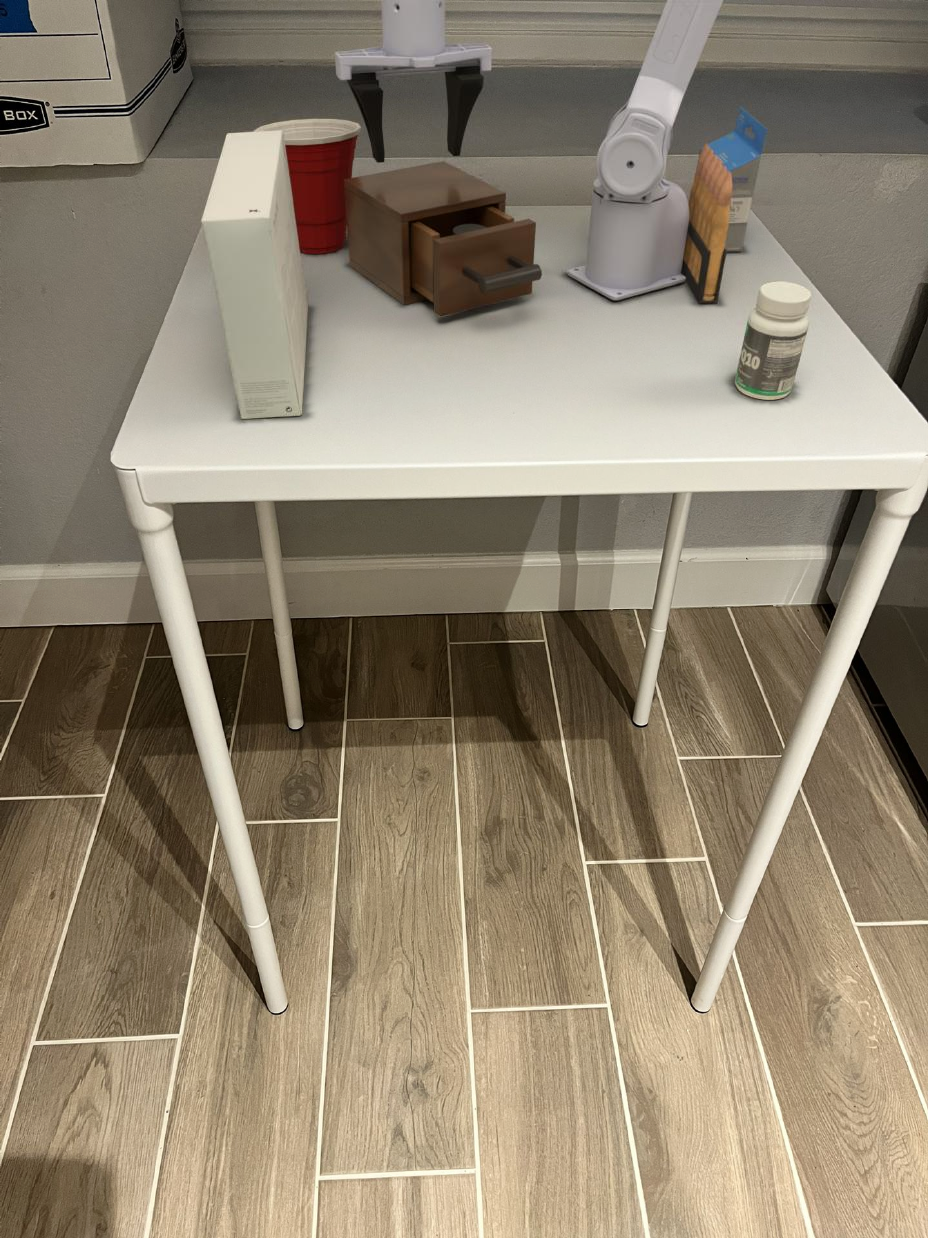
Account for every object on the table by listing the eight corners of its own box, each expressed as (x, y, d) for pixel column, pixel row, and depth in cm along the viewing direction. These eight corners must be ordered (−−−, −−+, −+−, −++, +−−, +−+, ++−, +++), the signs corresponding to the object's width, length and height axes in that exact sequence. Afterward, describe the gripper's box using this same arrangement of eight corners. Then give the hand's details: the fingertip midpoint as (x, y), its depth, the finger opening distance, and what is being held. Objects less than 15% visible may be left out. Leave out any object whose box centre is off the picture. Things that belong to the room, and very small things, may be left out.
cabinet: (503, 280, 98) (506, 192, 92) (403, 305, 93) (400, 213, 88) (444, 244, 105) (443, 160, 100) (349, 265, 101) (343, 178, 95)
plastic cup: (349, 220, 110) (341, 105, 103) (381, 253, 103) (375, 132, 95) (256, 234, 107) (240, 116, 99) (283, 268, 100) (268, 144, 92)
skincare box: (251, 309, 92) (225, 129, 82) (308, 307, 93) (290, 128, 82) (233, 421, 77) (198, 216, 66) (302, 418, 77) (278, 214, 66)
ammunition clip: (717, 303, 94) (742, 174, 86) (698, 304, 94) (721, 174, 86) (693, 261, 102) (713, 139, 94) (676, 261, 102) (695, 139, 94)
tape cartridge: (686, 224, 110) (705, 105, 102) (719, 223, 111) (740, 105, 103) (709, 253, 104) (731, 129, 96) (744, 252, 104) (769, 128, 96)
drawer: (558, 309, 91) (564, 236, 86) (465, 334, 87) (465, 259, 82) (474, 258, 100) (475, 189, 96) (386, 278, 96) (382, 208, 91)
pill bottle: (729, 373, 83) (749, 278, 78) (784, 375, 83) (808, 279, 78) (739, 401, 80) (761, 302, 74) (797, 402, 80) (823, 303, 74)
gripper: (341, 4, 81) (352, 174, 90) (504, -3, 84) (499, 162, 93) (325, -10, 86) (337, 152, 95) (479, -16, 90) (477, 141, 99)
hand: (416, 156), depth 95 cm, fingers open, 7 cm apart
